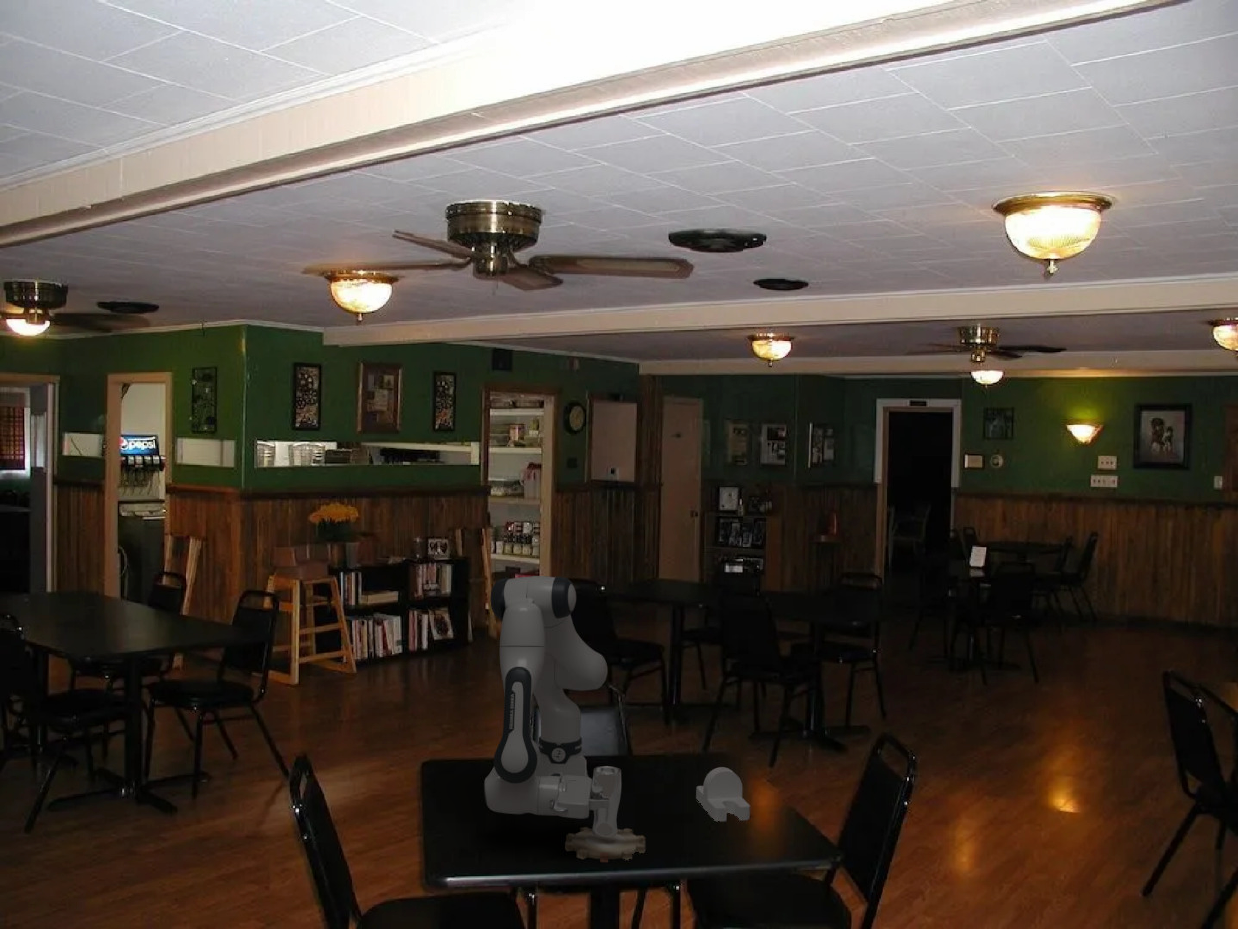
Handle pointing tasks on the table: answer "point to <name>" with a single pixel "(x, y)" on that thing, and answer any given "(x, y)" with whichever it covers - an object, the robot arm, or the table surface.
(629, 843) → the sprocket plate
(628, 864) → the table surface
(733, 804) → the tape dispenser
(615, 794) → the beer glass
